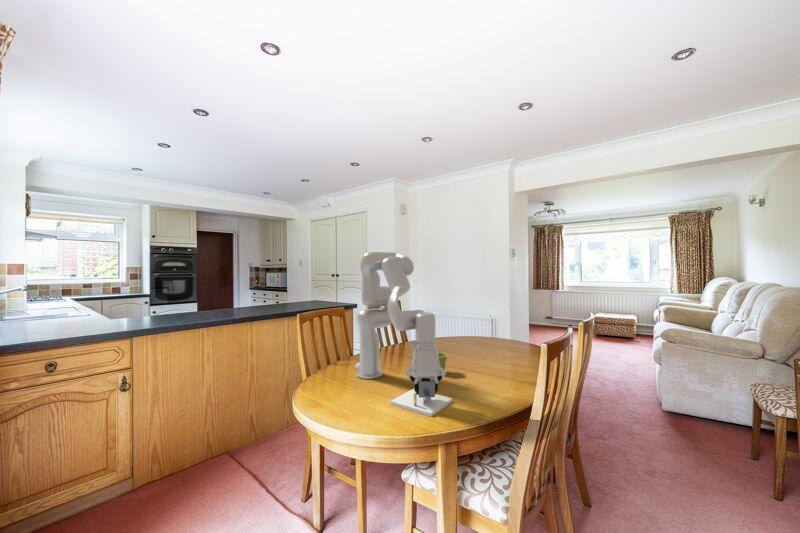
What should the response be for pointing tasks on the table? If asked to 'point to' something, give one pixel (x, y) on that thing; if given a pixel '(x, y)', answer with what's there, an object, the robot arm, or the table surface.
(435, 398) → the board
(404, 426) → the table surface
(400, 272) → the robot arm
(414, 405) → the brass dowel
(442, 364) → the plant pot
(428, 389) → the grey socket block
